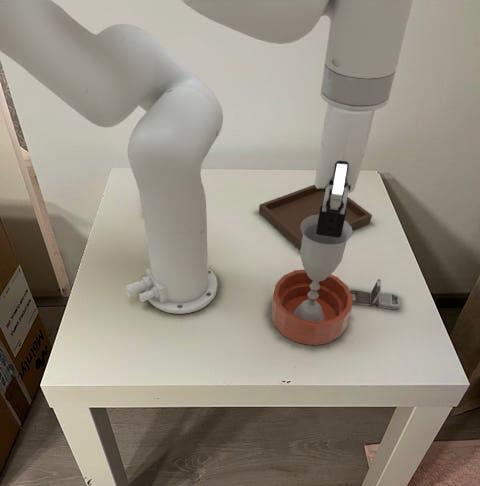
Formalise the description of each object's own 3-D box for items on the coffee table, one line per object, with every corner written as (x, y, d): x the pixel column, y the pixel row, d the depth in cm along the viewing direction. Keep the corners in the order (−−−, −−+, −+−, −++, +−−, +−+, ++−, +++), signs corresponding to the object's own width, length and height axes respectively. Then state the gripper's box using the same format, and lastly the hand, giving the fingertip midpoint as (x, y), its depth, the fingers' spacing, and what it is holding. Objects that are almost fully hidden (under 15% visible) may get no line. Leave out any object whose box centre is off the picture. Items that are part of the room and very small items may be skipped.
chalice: (330, 302, 83) (351, 216, 70) (331, 332, 79) (354, 246, 65) (287, 298, 84) (300, 212, 70) (286, 328, 79) (299, 241, 66)
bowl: (302, 357, 76) (306, 337, 72) (256, 307, 83) (258, 286, 79) (362, 325, 80) (369, 305, 77) (314, 280, 87) (318, 259, 84)
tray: (302, 252, 92) (303, 243, 91) (258, 213, 100) (259, 204, 99) (369, 223, 99) (372, 215, 98) (324, 188, 107) (325, 180, 106)
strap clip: (398, 298, 85) (404, 280, 82) (398, 310, 83) (406, 293, 80) (349, 291, 86) (354, 273, 83) (348, 303, 84) (354, 285, 81)
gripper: (329, 51, 59) (311, 175, 72) (314, 114, 48) (295, 249, 61) (391, 57, 58) (362, 182, 71) (391, 123, 47) (356, 258, 60)
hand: (331, 212), depth 66 cm, fingers open, 9 cm apart
